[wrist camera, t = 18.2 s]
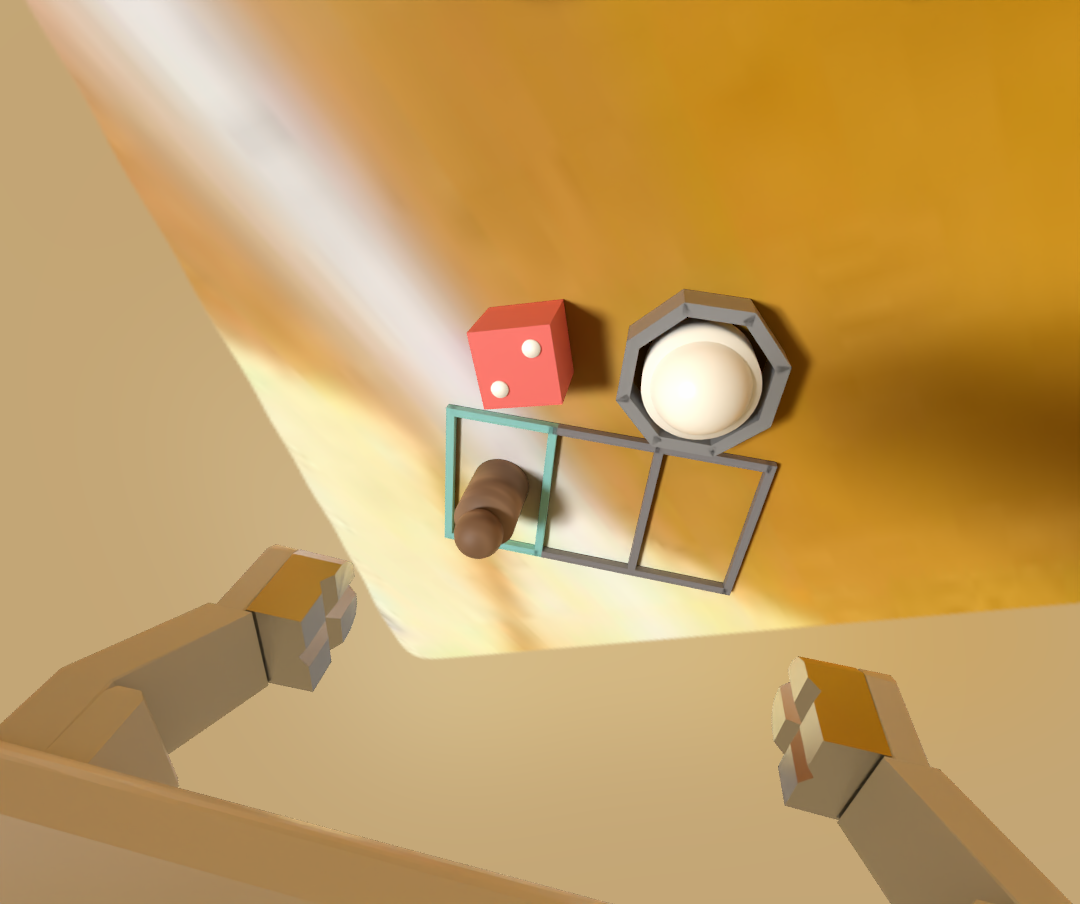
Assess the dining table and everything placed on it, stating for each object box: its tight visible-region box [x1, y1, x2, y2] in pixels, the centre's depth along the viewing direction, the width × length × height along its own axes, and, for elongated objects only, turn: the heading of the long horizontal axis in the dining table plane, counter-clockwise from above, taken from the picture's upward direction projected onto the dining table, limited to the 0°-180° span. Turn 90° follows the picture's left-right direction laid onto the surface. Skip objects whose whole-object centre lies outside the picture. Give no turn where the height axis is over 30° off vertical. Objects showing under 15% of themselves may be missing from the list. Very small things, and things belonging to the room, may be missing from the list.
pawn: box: [454, 459, 529, 559], centre depth 42 cm, size 4×4×8 cm
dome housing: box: [616, 289, 792, 457], centre depth 37 cm, size 10×10×3 cm
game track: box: [445, 404, 777, 595], centre depth 45 cm, size 23×12×1 cm, turn 84°
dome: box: [641, 318, 762, 440], centre depth 35 cm, size 7×7×6 cm
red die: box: [467, 299, 574, 409], centre depth 37 cm, size 5×5×5 cm
